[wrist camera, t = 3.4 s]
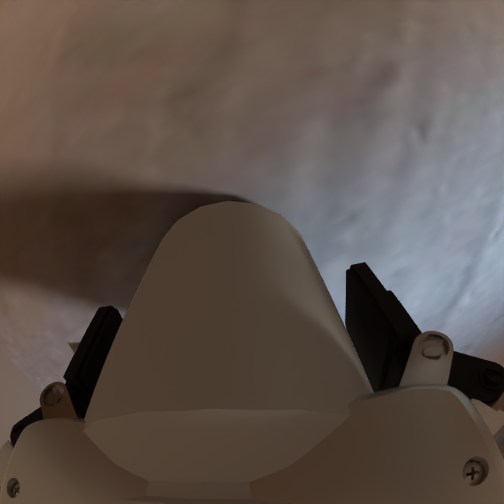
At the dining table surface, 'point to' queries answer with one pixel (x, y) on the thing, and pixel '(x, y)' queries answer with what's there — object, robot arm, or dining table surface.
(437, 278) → the dining table surface
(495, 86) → the dining table surface
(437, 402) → the robot arm
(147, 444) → the can
